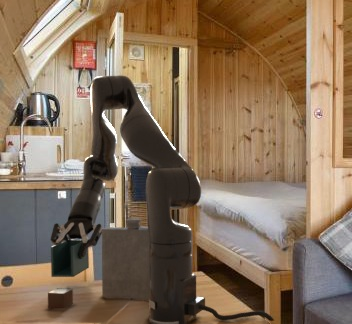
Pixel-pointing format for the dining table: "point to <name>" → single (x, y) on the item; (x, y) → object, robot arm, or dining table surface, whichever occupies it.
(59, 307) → the walnut block
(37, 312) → the dining table surface
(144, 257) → the hip flask
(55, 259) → the teal open box
